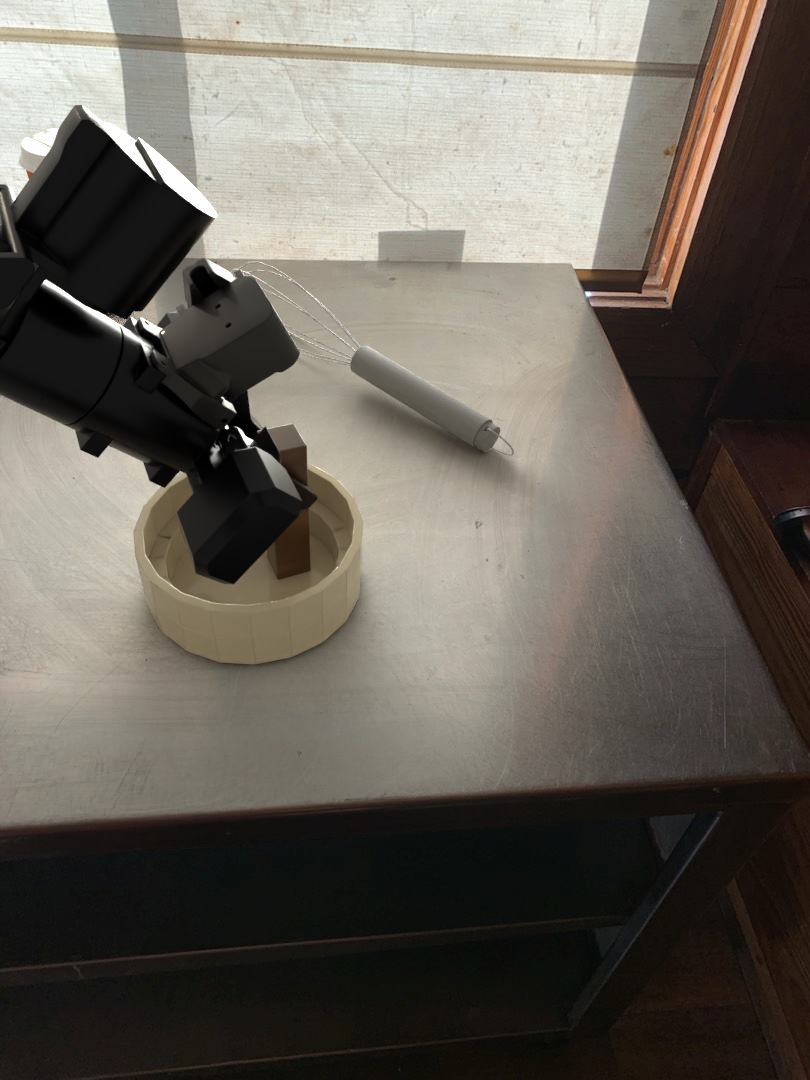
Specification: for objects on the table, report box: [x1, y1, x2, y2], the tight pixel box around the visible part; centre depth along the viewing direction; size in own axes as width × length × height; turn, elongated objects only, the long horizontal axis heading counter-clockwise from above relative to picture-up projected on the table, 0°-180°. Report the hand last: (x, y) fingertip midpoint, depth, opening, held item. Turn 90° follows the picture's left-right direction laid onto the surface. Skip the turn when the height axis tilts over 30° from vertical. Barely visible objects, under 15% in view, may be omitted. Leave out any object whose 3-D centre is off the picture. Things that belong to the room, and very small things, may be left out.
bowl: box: [133, 462, 364, 665], centre depth 52 cm, size 14×14×6 cm
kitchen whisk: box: [230, 261, 515, 457], centre depth 70 cm, size 6×34×6 cm, turn 50°
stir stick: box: [256, 422, 311, 580], centre depth 51 cm, size 2×2×11 cm
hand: (305, 488), depth 50 cm, fingers closed on stir stick, 2 cm apart
